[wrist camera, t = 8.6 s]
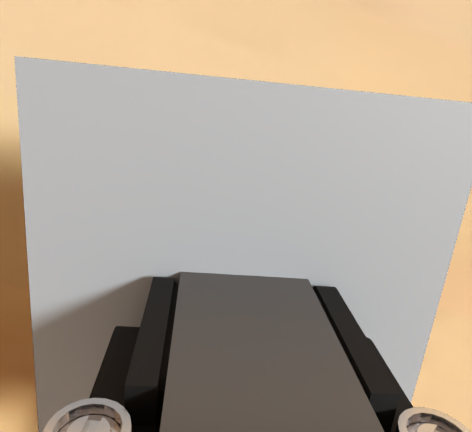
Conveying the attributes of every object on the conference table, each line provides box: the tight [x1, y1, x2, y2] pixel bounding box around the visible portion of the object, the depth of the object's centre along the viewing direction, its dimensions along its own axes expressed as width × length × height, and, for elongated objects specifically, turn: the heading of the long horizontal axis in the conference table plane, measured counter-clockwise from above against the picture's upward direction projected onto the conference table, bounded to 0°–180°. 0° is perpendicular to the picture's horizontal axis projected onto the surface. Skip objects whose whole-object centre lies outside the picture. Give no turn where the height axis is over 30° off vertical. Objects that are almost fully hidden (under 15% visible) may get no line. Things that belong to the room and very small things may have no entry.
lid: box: [15, 56, 472, 432], centre depth 9 cm, size 12×10×6 cm
